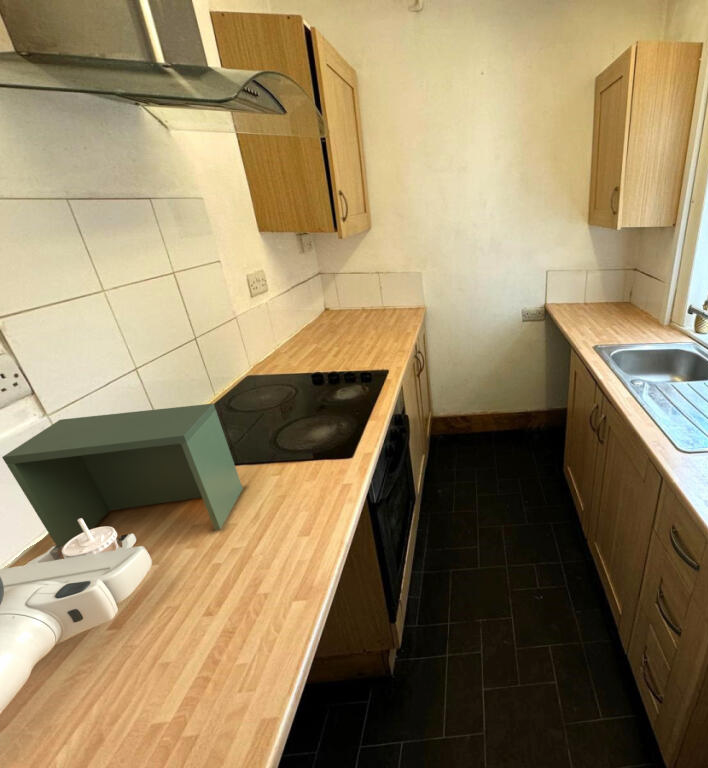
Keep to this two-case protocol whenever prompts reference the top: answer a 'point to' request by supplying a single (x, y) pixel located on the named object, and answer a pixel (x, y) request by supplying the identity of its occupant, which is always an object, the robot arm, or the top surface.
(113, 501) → the cupboard
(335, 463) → the top surface
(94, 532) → the smoothie
